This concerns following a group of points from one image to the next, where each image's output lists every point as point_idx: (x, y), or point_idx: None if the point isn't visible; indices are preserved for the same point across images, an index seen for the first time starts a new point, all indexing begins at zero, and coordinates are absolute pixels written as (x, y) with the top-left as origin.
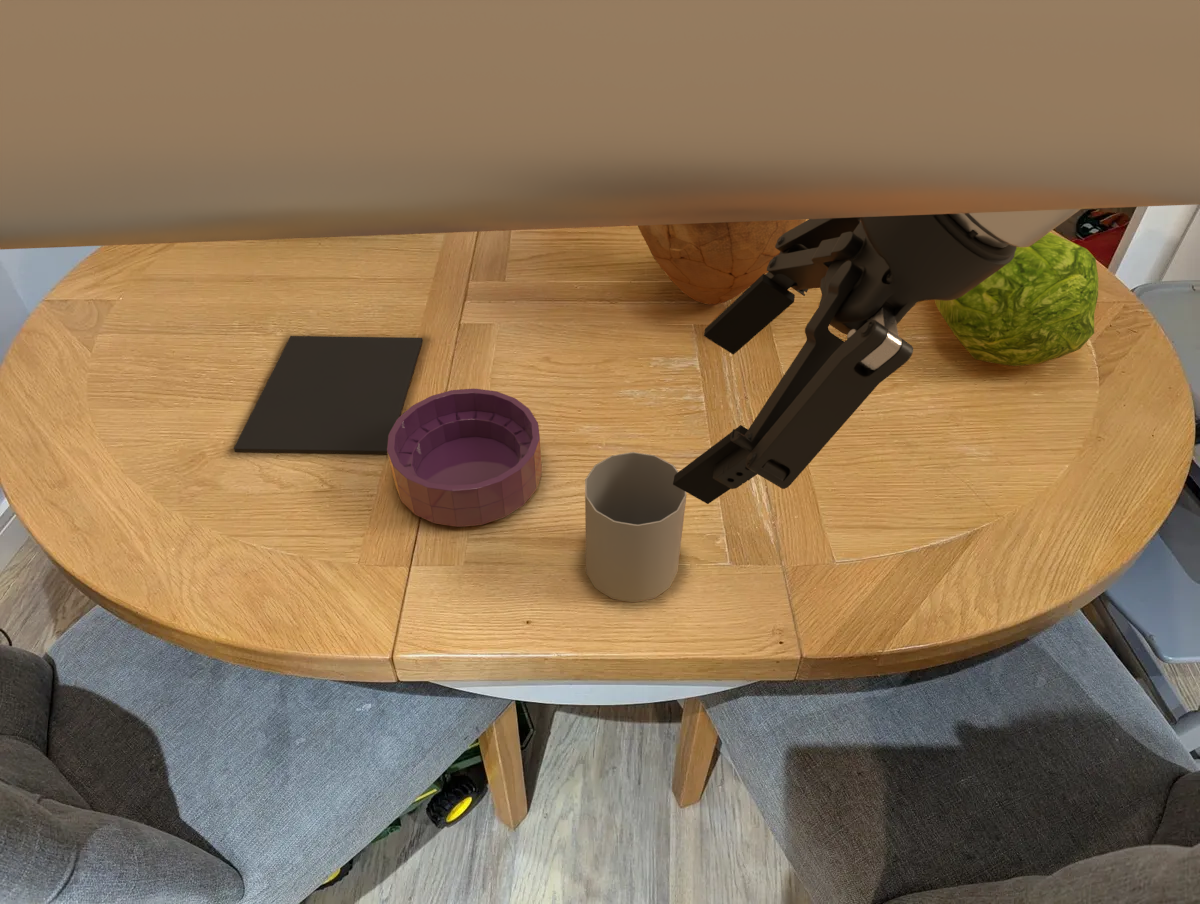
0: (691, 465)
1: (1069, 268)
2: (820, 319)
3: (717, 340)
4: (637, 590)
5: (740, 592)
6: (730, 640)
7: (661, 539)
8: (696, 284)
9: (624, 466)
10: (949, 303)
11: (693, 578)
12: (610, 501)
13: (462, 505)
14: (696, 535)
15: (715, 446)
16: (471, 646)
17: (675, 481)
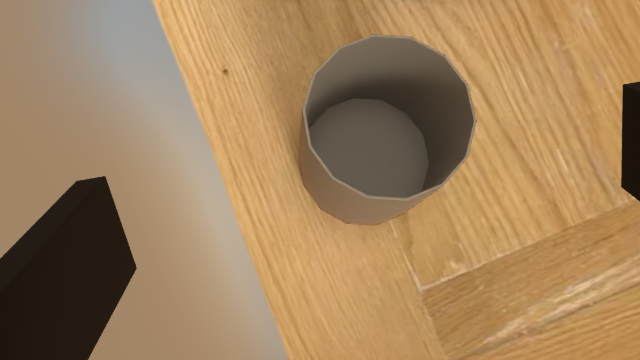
0: (63, 209)
1: None
2: None
3: (628, 128)
4: (307, 184)
5: (377, 319)
6: (294, 327)
7: (333, 190)
8: None
9: (448, 84)
10: None
11: (375, 249)
12: (417, 93)
13: None
14: (451, 230)
15: (22, 262)
16: (167, 23)
17: (76, 184)
